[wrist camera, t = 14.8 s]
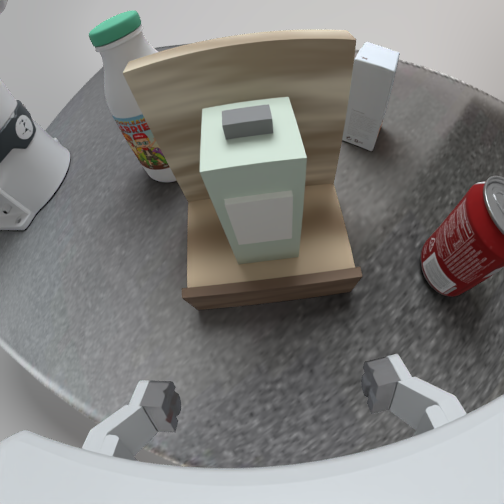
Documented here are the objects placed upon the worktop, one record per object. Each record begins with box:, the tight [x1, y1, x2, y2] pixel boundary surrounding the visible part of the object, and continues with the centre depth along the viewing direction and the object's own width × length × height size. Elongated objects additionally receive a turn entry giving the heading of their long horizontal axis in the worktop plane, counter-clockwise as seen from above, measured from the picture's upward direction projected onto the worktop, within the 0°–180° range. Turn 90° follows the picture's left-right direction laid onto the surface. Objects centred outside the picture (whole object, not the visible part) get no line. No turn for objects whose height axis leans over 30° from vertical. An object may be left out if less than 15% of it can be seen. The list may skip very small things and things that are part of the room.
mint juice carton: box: [200, 97, 307, 264], centre depth 19 cm, size 5×5×13 cm
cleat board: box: [123, 30, 362, 310], centre depth 19 cm, size 11×14×18 cm
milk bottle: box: [89, 11, 177, 182], centre depth 24 cm, size 8×8×20 cm
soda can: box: [420, 176, 504, 297], centre depth 19 cm, size 7×7×12 cm
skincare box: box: [342, 42, 400, 151], centre depth 27 cm, size 6×4×12 cm
